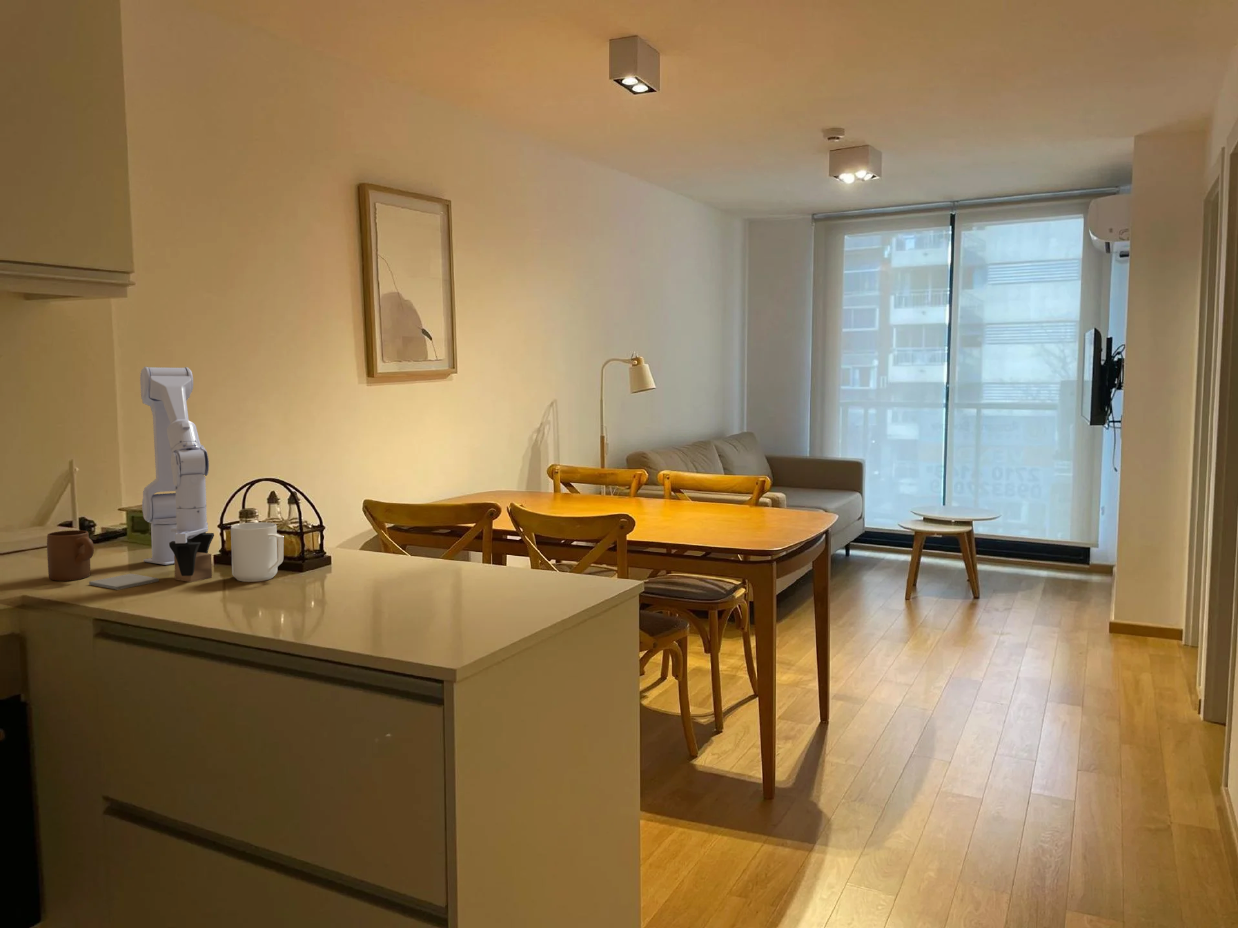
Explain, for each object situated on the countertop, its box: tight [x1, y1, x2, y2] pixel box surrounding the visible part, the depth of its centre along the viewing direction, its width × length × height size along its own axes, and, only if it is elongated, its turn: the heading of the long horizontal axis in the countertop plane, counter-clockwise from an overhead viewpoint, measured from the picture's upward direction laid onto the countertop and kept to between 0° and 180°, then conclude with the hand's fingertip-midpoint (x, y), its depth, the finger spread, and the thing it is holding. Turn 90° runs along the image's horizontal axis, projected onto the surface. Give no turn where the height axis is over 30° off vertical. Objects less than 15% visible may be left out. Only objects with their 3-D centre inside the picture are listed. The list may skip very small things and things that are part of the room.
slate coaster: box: [88, 573, 160, 591], centre depth 188 cm, size 9×9×1 cm
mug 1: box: [46, 529, 95, 582], centre depth 191 cm, size 12×8×9 cm, turn 60°
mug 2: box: [230, 521, 285, 583], centre depth 193 cm, size 12×9×11 cm
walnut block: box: [173, 552, 213, 583], centre depth 193 cm, size 5×5×5 cm
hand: (193, 571), depth 193 cm, fingers closed on walnut block, 7 cm apart
